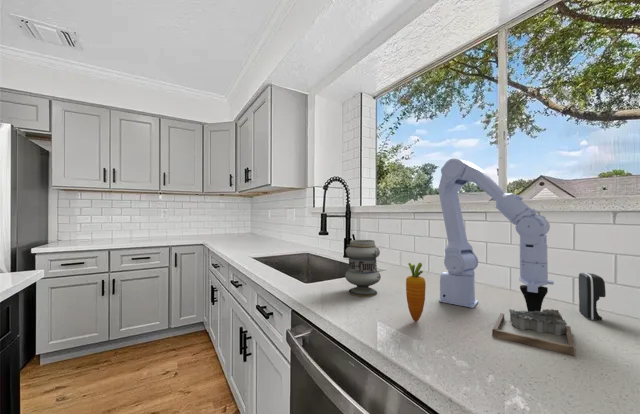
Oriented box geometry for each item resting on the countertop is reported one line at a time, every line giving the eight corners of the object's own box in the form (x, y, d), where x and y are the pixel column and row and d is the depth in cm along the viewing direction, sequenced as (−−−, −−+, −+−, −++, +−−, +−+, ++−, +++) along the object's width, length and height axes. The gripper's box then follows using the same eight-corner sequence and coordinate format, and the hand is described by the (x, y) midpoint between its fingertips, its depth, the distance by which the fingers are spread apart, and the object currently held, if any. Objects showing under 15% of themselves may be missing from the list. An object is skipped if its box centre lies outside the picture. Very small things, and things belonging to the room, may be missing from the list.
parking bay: (492, 336, 63) (492, 329, 63) (500, 318, 74) (500, 313, 74) (574, 355, 55) (574, 347, 55) (570, 332, 65) (570, 326, 65)
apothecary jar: (340, 289, 102) (340, 239, 103) (371, 287, 105) (371, 238, 106) (352, 298, 91) (352, 242, 91) (386, 296, 93) (386, 241, 94)
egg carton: (561, 326, 69) (561, 310, 69) (569, 338, 63) (569, 319, 63) (508, 318, 75) (508, 302, 75) (511, 328, 68) (511, 310, 68)
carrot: (402, 318, 73) (402, 260, 74) (420, 318, 74) (420, 260, 74) (410, 326, 68) (409, 263, 69) (429, 325, 69) (429, 263, 69)
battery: (608, 323, 72) (607, 277, 72) (588, 320, 73) (587, 275, 74) (596, 314, 78) (595, 272, 78) (578, 312, 80) (577, 271, 80)
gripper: (553, 267, 65) (554, 327, 65) (552, 260, 76) (553, 311, 76) (516, 264, 69) (517, 320, 69) (520, 257, 81) (521, 305, 80)
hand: (534, 315), depth 73 cm, fingers closed
